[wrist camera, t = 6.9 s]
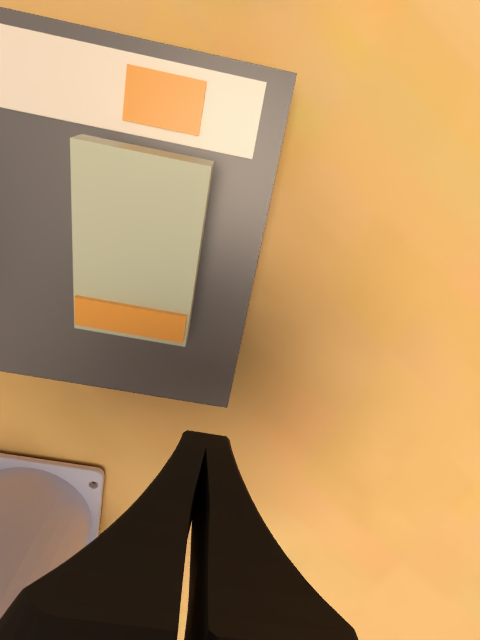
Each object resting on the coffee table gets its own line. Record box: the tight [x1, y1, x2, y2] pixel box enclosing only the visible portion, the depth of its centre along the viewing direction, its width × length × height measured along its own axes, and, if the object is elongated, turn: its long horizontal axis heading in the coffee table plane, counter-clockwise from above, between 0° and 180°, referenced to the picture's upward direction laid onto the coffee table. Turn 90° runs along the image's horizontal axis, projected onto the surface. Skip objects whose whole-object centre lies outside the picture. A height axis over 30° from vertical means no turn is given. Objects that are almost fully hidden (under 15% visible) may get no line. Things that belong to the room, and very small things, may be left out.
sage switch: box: [70, 134, 214, 347], centre depth 15 cm, size 7×4×1 cm, turn 170°
